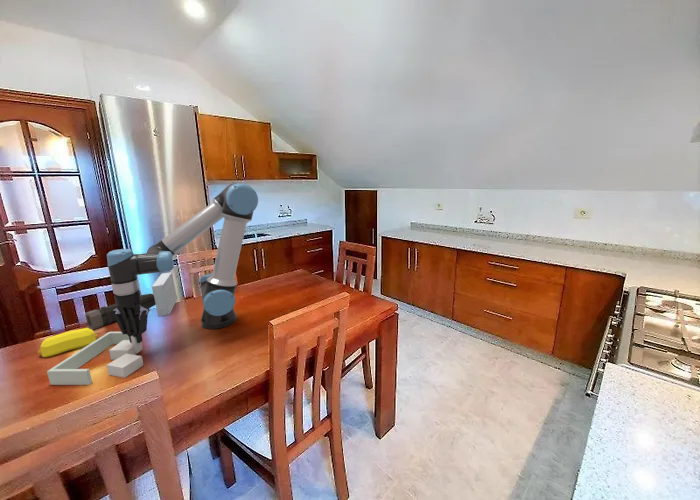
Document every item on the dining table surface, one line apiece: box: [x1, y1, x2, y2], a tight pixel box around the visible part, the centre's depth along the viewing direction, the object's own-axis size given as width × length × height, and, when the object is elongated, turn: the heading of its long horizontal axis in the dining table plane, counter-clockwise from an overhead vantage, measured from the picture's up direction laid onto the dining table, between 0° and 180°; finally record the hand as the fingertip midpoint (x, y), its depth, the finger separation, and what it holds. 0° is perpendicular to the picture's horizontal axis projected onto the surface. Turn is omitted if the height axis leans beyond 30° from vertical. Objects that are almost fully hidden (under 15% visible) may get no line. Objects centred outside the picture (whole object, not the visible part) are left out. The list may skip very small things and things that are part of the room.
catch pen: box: [46, 331, 143, 386], centre depth 109 cm, size 13×25×5 cm, turn 179°
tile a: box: [108, 340, 144, 361], centre depth 113 cm, size 7×7×4 cm
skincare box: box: [151, 271, 178, 317], centre depth 153 cm, size 21×5×16 cm, turn 20°
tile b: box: [106, 354, 144, 378], centre depth 104 cm, size 7×7×4 cm
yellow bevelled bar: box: [37, 327, 100, 358], centre depth 117 cm, size 18×7×8 cm
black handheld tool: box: [84, 293, 156, 331], centre depth 144 cm, size 11×7×30 cm
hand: (137, 350), depth 113 cm, fingers closed
